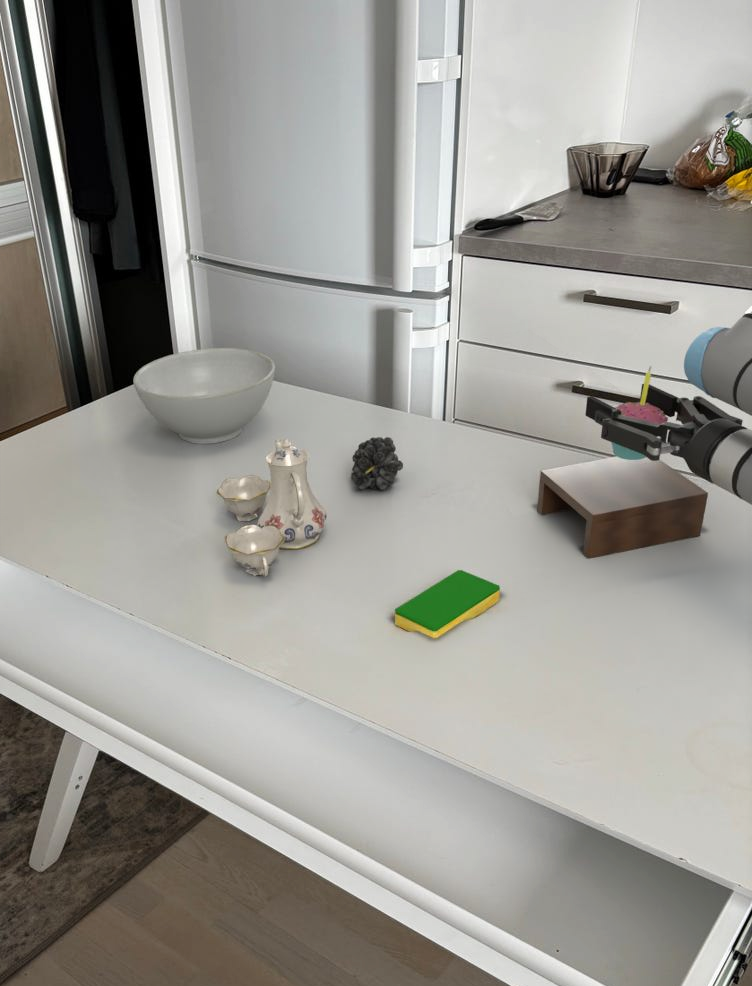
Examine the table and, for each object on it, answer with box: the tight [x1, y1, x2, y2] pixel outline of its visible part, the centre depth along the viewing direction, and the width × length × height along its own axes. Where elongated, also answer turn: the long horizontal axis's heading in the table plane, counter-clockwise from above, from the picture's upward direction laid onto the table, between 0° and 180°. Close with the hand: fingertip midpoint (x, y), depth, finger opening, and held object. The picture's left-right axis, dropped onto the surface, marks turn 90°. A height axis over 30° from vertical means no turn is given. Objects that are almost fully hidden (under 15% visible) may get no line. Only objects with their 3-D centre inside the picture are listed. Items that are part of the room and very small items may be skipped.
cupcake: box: [610, 365, 669, 460], centre depth 135 cm, size 9×8×12 cm
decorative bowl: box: [132, 347, 276, 445], centre depth 188 cm, size 27×27×12 cm
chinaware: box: [216, 438, 327, 577], centre depth 149 cm, size 28×17×17 cm, turn 12°
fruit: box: [350, 436, 404, 491], centre depth 166 cm, size 9×8×15 cm
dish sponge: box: [394, 569, 501, 639], centre depth 132 cm, size 7×14×2 cm, turn 132°
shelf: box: [536, 455, 709, 559], centre depth 147 cm, size 18×16×7 cm
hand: (616, 399), depth 138 cm, fingers closed on cupcake, 8 cm apart
